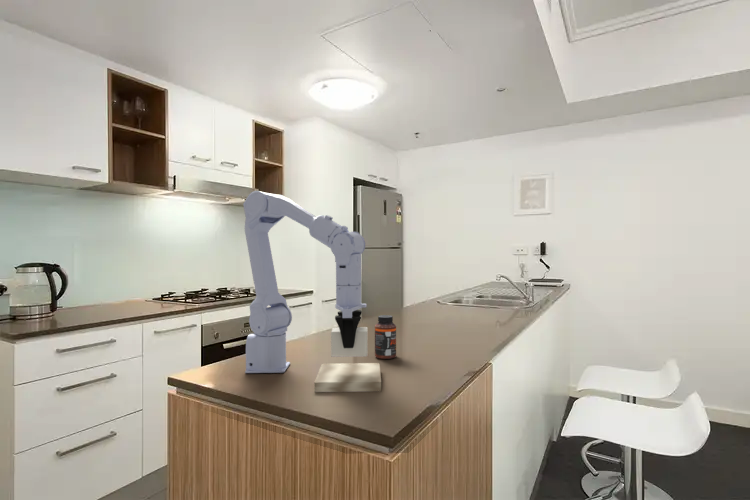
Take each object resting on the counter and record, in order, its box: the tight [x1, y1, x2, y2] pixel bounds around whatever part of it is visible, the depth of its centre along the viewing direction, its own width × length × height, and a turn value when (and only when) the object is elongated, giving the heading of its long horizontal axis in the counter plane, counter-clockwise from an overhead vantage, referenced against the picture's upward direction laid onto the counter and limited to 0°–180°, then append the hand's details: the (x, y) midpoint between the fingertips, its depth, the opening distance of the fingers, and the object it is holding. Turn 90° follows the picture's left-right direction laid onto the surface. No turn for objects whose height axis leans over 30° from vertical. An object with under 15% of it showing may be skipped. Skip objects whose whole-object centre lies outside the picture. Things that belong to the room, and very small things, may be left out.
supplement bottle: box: [374, 314, 397, 360], centre depth 113 cm, size 6×6×11 cm
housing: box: [330, 326, 369, 358], centre depth 93 cm, size 8×5×6 cm, turn 91°
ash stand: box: [313, 362, 382, 393], centre depth 93 cm, size 14×14×2 cm
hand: (349, 344), depth 93 cm, fingers closed on housing, 5 cm apart
